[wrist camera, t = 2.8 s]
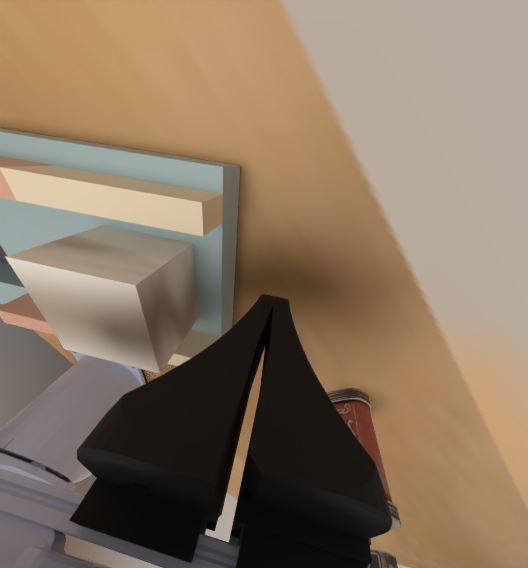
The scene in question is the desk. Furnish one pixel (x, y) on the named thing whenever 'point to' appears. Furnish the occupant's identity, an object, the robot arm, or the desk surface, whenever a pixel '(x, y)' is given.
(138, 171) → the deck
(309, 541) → the robot arm
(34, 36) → the desk surface
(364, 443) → the lighter
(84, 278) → the block
